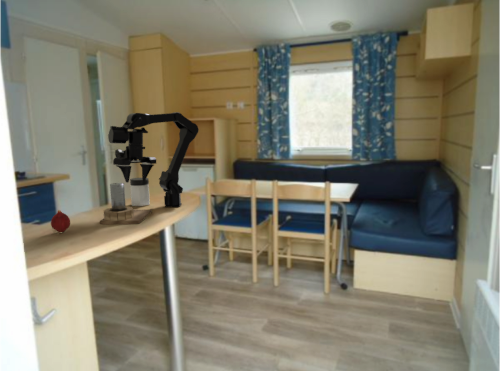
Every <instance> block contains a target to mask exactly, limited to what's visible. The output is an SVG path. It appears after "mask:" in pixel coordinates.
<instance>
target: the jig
mask: <svg viewBox="0 0 500 371" xmlns="http://www.w3.org/2000/svg"><path fill="white" fill-rule="evenodd" d="M151 213H153V211H152V209H148V208H147V209H134V208H133V206H126V210H124V211H118V212H112V207H109V208H106V209H103V218H102V219H100V220H99V224H100V225H125V224H126V225H128V224H130V225H131V224H135V225H137V224H141V222H143V221H145V219H146V218H147V217H148V216H149V215H150V214H151Z"/></svg>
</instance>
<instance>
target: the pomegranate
mask: <svg viewBox="0 0 500 371" xmlns="http://www.w3.org/2000/svg"><path fill="white" fill-rule="evenodd" d="M50 225H51V226H50V227H51V228H52V229H53V230H54V231H56V232H58V233H59V232H63V233H64V232H65V231H66V230H68V229H69V228H70V225H71V219H70V217H69V215H67V214H66V213H64V212H63V211H61V210H60V209H57V213H56V214H54V215H53V216H52V218H51V220H50Z"/></svg>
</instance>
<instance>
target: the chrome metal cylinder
mask: <svg viewBox="0 0 500 371" xmlns="http://www.w3.org/2000/svg"><path fill="white" fill-rule="evenodd" d="M109 188H110V190H109V191H110V203H111V208H112V212H118V211H124V210H126V207H127V205H126V194H125V183H124V182H113V183H110V184H109Z"/></svg>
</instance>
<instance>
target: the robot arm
mask: <svg viewBox="0 0 500 371" xmlns="http://www.w3.org/2000/svg"><path fill="white" fill-rule="evenodd" d="M169 122H172V123H174V124H175V126H176V128H178V129H179V134H178V135H179V141H178V144H177V146H176V148H175V151H174V154H173V156H172V158H171V161H170V164H169V166H168V168H167V170H166V171H163V170H162V171H161V173H160V177H159V178H158V180H159V186H160V188H162V190H163V192H165V194H164V196H163V197H164V199H163V200H164V202H163V203H164V208H179V207H180V208H181V206H182V205H183V203H182V197H181V194H182V193H183V190H184V188H183V187H182V186H181V185H180V184H179V181H180V180H179V178H180V176H179V172H180V170H181V167H182V165H183V162H184V159H185V157H186V154H187V152H188V149H189V146H190V144H191V143H192V142H193V141H194V140H195V139H196V137H197V135H198V134H199V126H198V124H196V123H195V122H192V121H191V120H190V119H189V118H187V117H185V116H184V115H183V114H182V113H181V112H179V111H177V112H176V111H175V112H169V113H155V114H154V113H153V114H148V113H141V112H133V113H129V114H128V115H127V116H126V121H125V122H124V124H123V125H122V126H115V125H112V126H111V125H110V128H109V131H108V135H107V136H108V138H107V139H108V142H109V144H122V145H123V144H124V145H125V144H126V143H128V144H127V145H126V146H125V149H124V150H122V149H117V148H116V150H114V151H115V152H114V155H115V157H114V158H113V160H112V161H113V164H112V165H115V167H116V168H117V167H118V168H119V170H121V173H122V175H123V176H122V177H123V178H124V180H125V183H127V184H128V183H130V179H131V178H130V176H131V172H132V166H131V164H139V165H140V167H141V178H142V179H143V181H145V180H146V178H148V175H149V173H150V172H151V170H152V168H153V167H154V166H155V164H157V158H156V157H155V156H144V150H146V146H144V134H148V133H149V131H148V130H147V129H146V128H145V126H149V125H151V124H158V123H160V124H161V123H169Z"/></svg>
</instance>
